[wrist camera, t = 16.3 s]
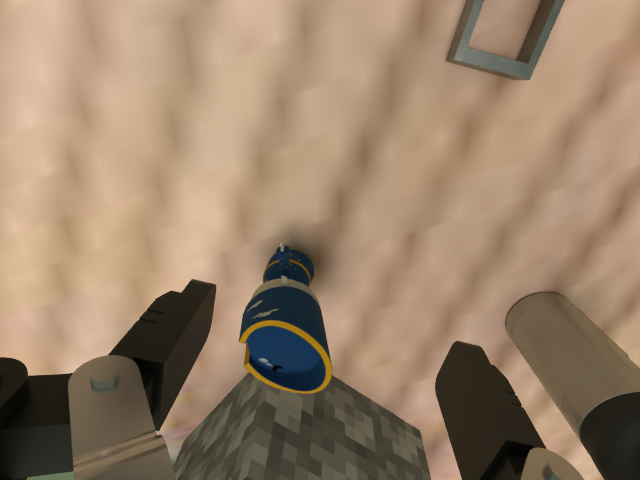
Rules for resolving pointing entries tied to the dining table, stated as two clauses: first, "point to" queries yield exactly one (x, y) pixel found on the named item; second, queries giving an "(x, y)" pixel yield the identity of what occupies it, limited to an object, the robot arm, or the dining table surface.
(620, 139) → the dining table surface
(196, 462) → the block
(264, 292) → the figurine
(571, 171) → the dining table surface
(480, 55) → the divided rectangular frame
